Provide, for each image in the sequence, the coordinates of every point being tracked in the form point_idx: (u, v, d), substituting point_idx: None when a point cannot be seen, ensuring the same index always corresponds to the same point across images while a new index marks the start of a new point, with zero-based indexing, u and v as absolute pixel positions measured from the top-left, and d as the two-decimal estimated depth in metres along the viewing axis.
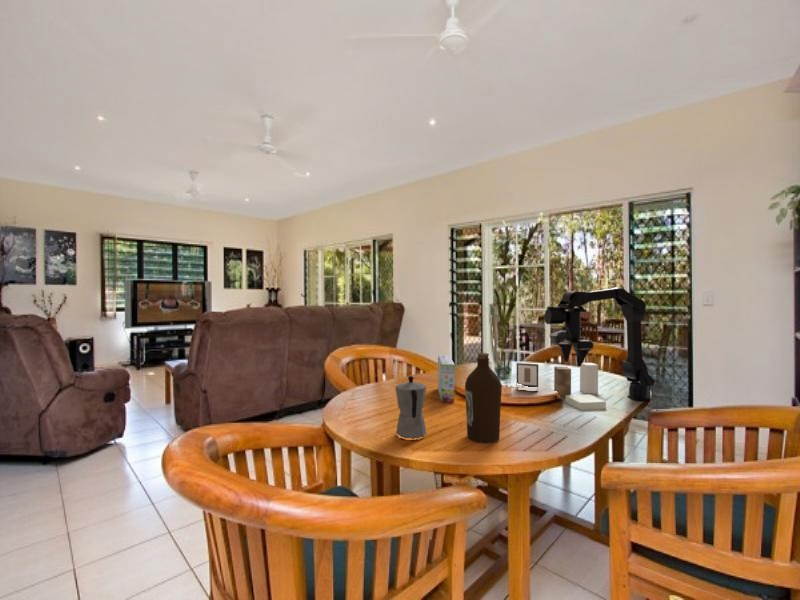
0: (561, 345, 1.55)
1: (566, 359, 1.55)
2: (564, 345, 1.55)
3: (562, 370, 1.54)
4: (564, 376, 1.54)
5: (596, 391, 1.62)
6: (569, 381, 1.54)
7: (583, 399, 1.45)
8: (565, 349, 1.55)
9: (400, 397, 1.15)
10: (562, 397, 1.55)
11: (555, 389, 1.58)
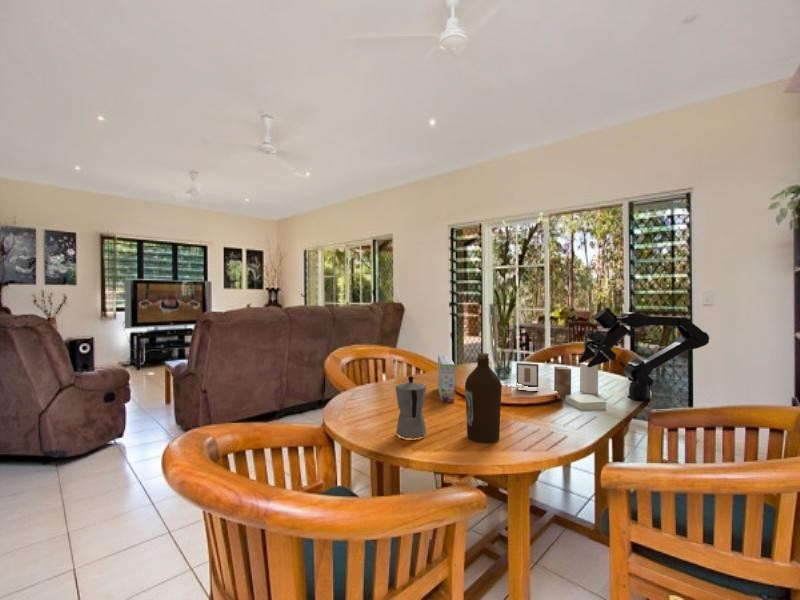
0: (587, 348, 1.60)
1: (581, 360, 1.60)
2: (589, 350, 1.60)
3: (562, 370, 1.54)
4: (564, 376, 1.54)
5: (596, 391, 1.62)
6: (569, 381, 1.54)
7: (583, 399, 1.45)
8: (587, 353, 1.60)
9: (400, 397, 1.15)
10: (562, 397, 1.55)
11: (555, 389, 1.58)
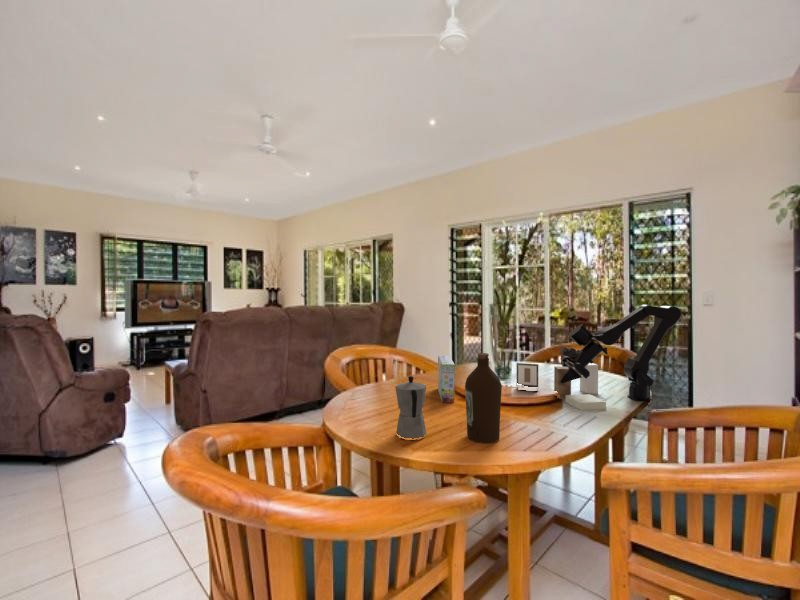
0: (565, 365, 1.59)
1: None
2: None
3: (562, 370, 1.54)
4: None
5: (596, 391, 1.62)
6: (569, 381, 1.54)
7: (583, 399, 1.45)
8: None
9: (400, 397, 1.15)
10: (562, 397, 1.55)
11: (555, 389, 1.58)
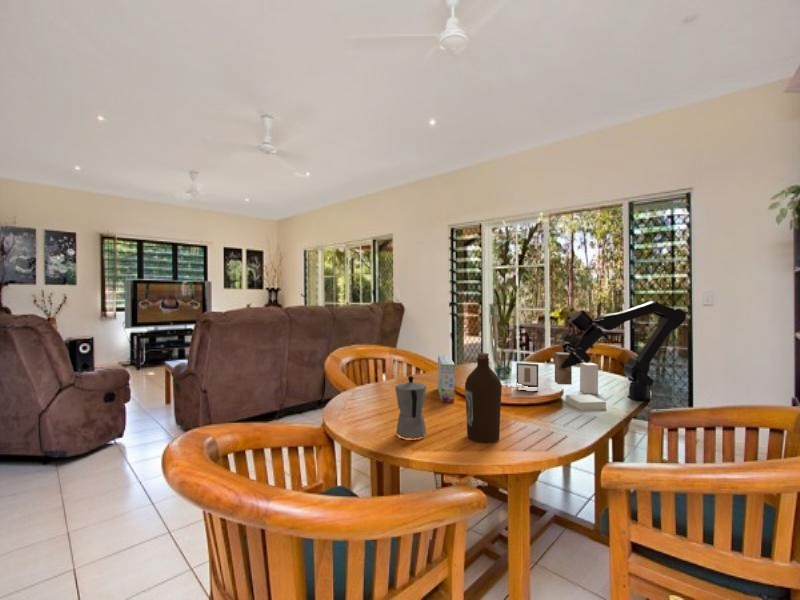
0: (565, 351, 1.59)
1: None
2: None
3: (563, 355, 1.54)
4: (564, 361, 1.54)
5: (596, 391, 1.62)
6: (570, 366, 1.54)
7: (583, 399, 1.45)
8: None
9: (400, 397, 1.15)
10: (563, 382, 1.54)
11: (555, 375, 1.57)
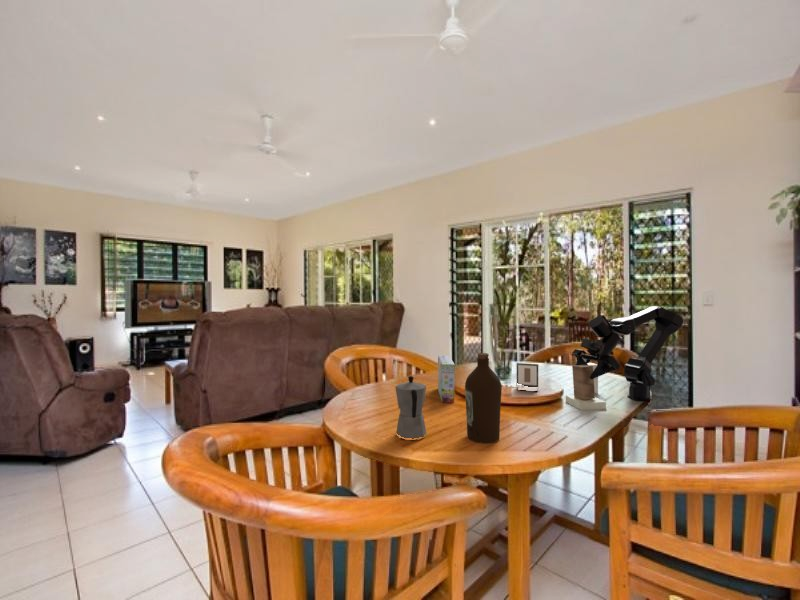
0: (580, 358, 1.51)
1: None
2: (582, 360, 1.51)
3: (585, 368, 1.44)
4: (587, 374, 1.44)
5: (596, 391, 1.62)
6: (592, 379, 1.45)
7: None
8: (580, 364, 1.51)
9: (400, 397, 1.15)
10: (587, 397, 1.44)
11: (577, 390, 1.47)
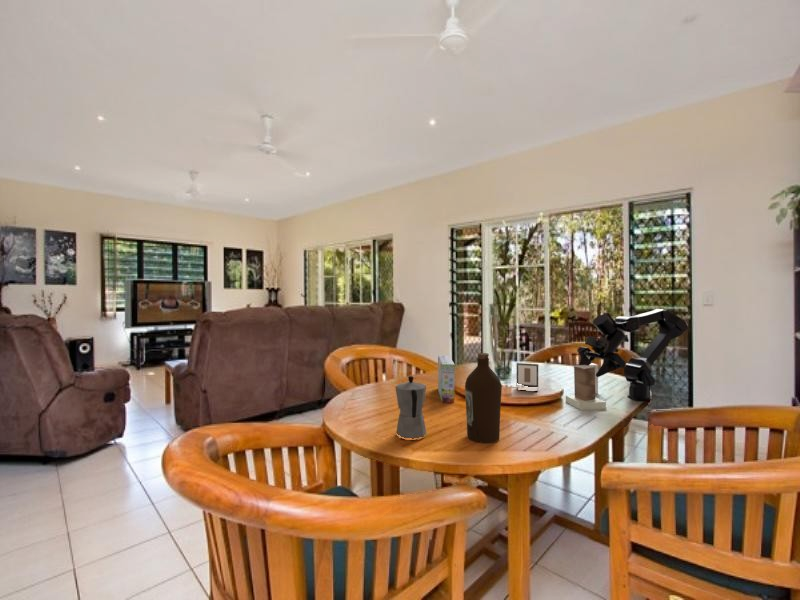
0: (584, 355, 1.52)
1: None
2: (586, 357, 1.52)
3: (587, 369, 1.44)
4: (589, 375, 1.44)
5: (596, 391, 1.62)
6: (593, 380, 1.45)
7: None
8: (584, 361, 1.52)
9: (400, 397, 1.15)
10: (588, 398, 1.44)
11: (577, 390, 1.46)
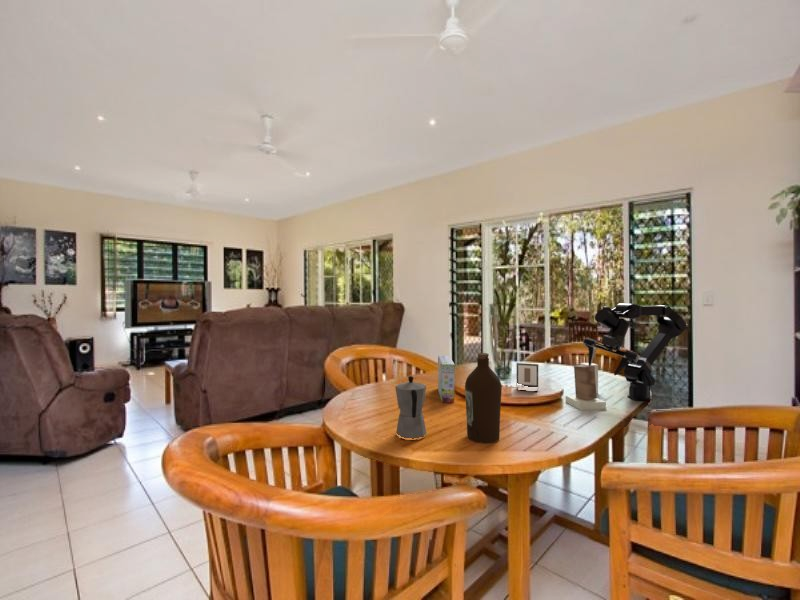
0: (593, 349, 1.51)
1: (590, 364, 1.51)
2: (594, 350, 1.52)
3: (588, 368, 1.44)
4: (590, 374, 1.45)
5: (596, 391, 1.62)
6: (594, 379, 1.45)
7: (583, 399, 1.45)
8: (592, 354, 1.52)
9: (400, 397, 1.15)
10: (590, 397, 1.44)
11: (579, 390, 1.46)
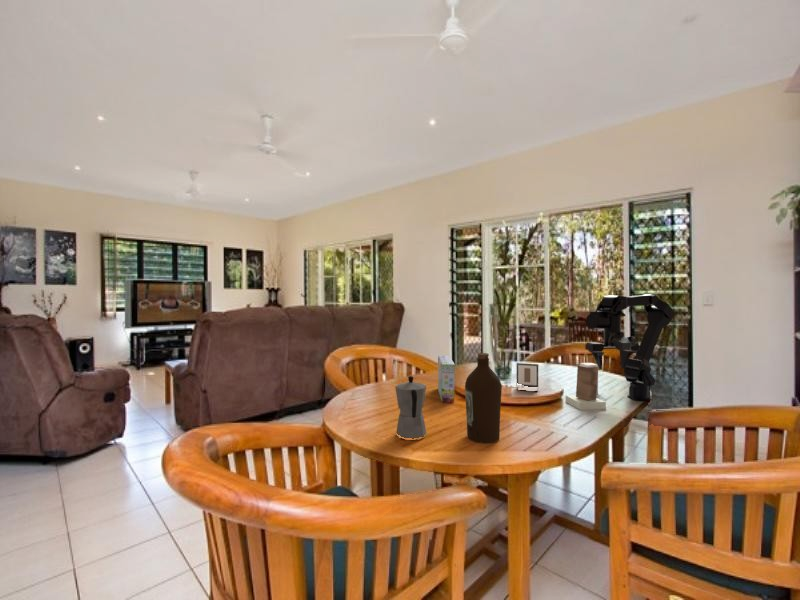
0: None
1: None
2: None
3: (592, 369, 1.43)
4: (593, 375, 1.44)
5: None
6: (596, 380, 1.45)
7: (583, 399, 1.45)
8: None
9: (400, 397, 1.15)
10: (591, 398, 1.44)
11: (580, 390, 1.46)
